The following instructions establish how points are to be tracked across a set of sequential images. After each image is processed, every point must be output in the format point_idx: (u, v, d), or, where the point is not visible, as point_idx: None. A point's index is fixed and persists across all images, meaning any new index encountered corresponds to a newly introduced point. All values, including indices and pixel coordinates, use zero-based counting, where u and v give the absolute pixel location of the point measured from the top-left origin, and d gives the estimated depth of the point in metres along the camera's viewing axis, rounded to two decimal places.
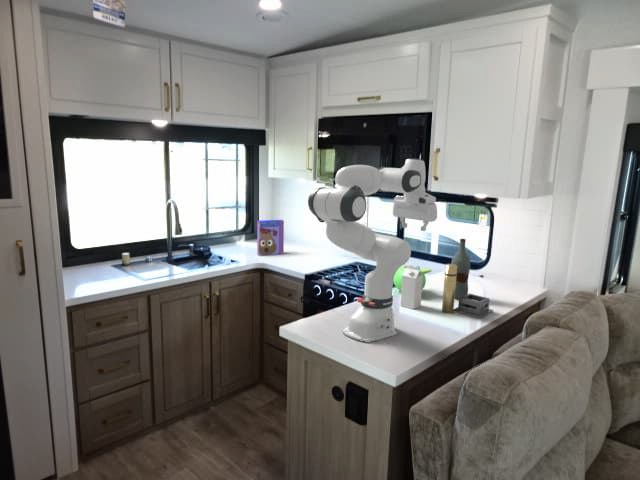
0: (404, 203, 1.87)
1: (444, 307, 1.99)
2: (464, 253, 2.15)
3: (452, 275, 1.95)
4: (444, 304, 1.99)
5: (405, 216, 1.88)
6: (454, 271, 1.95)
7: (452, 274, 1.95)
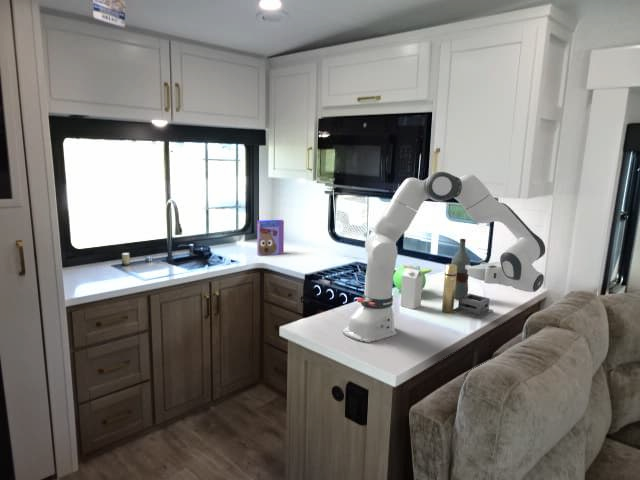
0: None
1: (444, 307, 1.99)
2: (464, 253, 2.15)
3: (452, 275, 1.95)
4: (444, 304, 1.99)
5: (490, 263, 1.83)
6: (454, 271, 1.95)
7: (452, 274, 1.95)
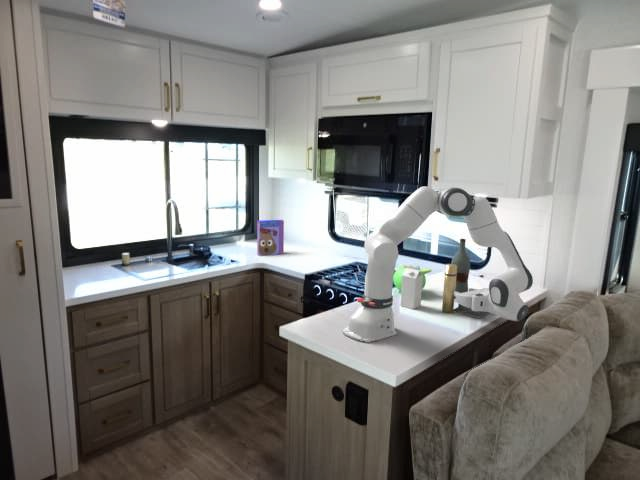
0: None
1: (444, 307, 1.99)
2: (464, 253, 2.15)
3: (452, 275, 1.95)
4: (444, 304, 1.99)
5: (477, 290, 1.89)
6: (454, 271, 1.95)
7: (452, 274, 1.95)
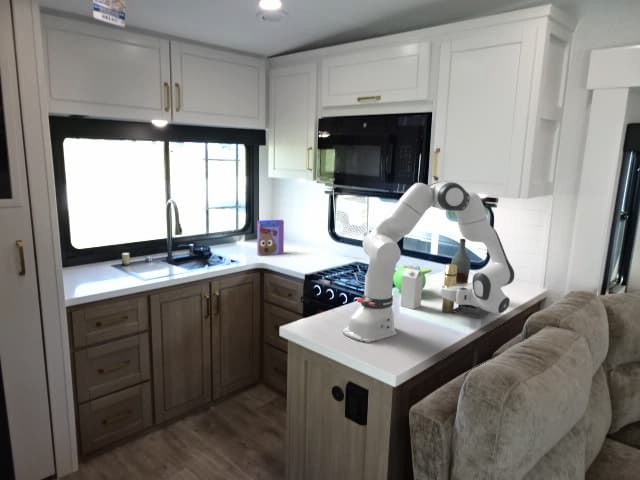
0: None
1: (444, 307, 1.99)
2: (464, 253, 2.15)
3: (452, 275, 1.95)
4: (444, 304, 1.99)
5: (462, 284, 1.96)
6: (454, 271, 1.95)
7: (452, 274, 1.95)
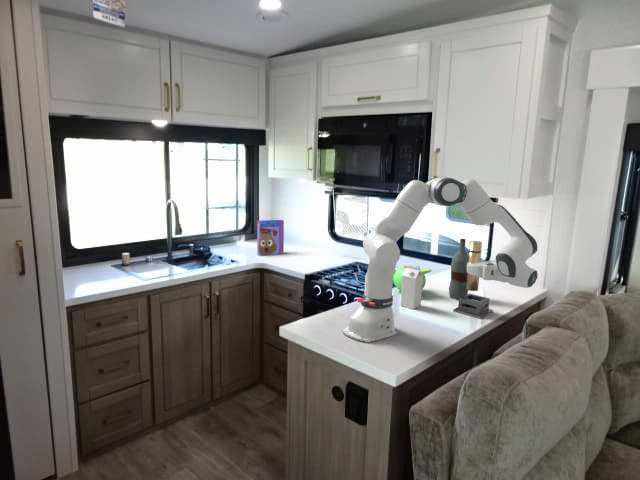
0: None
1: (469, 284, 1.97)
2: (464, 253, 2.15)
3: (477, 252, 1.94)
4: (469, 281, 1.98)
5: (487, 261, 1.95)
6: (479, 248, 1.94)
7: (477, 251, 1.94)
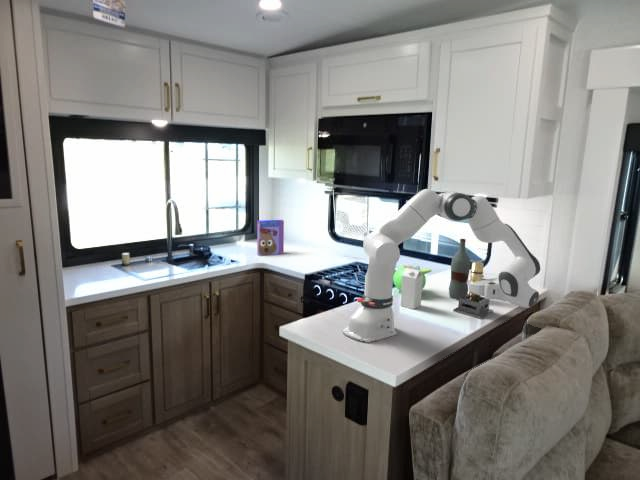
0: None
1: (470, 305, 1.99)
2: (464, 253, 2.15)
3: (479, 273, 1.96)
4: None
5: (489, 279, 1.96)
6: (481, 269, 1.96)
7: (478, 272, 1.96)
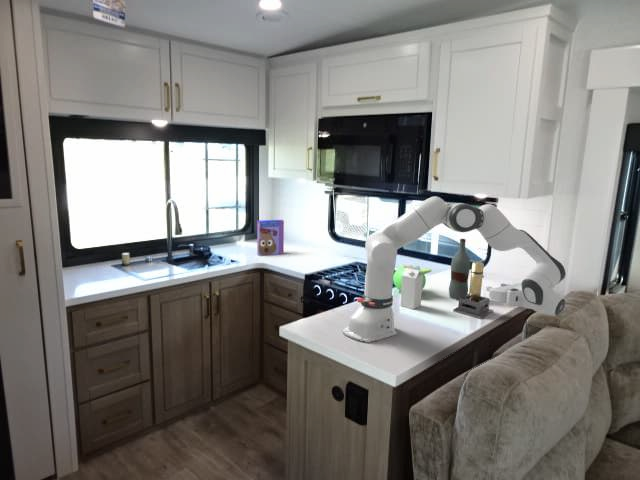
0: None
1: (470, 305, 1.99)
2: (464, 253, 2.15)
3: (479, 273, 1.96)
4: None
5: (510, 285, 1.87)
6: (481, 269, 1.95)
7: (479, 272, 1.95)
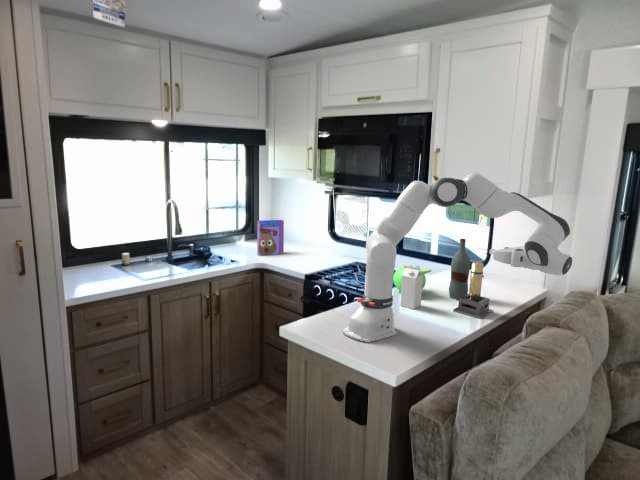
0: None
1: (470, 305, 1.99)
2: (464, 253, 2.15)
3: (478, 273, 1.95)
4: None
5: (514, 247, 1.80)
6: (481, 269, 1.95)
7: (478, 272, 1.95)
